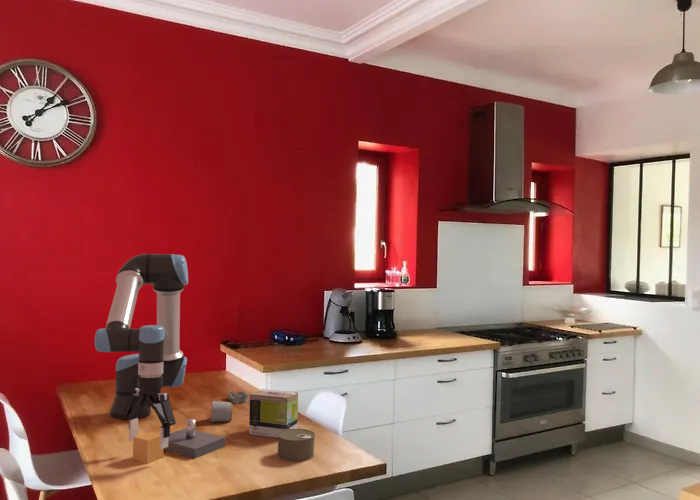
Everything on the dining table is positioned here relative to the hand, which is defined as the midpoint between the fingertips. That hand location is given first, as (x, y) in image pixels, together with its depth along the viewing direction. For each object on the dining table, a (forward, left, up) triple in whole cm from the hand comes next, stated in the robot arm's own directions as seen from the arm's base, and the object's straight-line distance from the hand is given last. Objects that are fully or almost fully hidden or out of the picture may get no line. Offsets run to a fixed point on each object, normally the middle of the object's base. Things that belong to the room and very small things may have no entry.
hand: (148, 443), depth 179 cm
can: (+36, +28, -5) cm, 46 cm away
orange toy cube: (0, 0, -5) cm, 5 cm away
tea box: (+17, +42, -5) cm, 46 cm away
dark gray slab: (+3, +15, -5) cm, 16 cm away
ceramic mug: (-10, +44, -5) cm, 45 cm away
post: (+3, +15, -2) cm, 16 cm away
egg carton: (-24, +71, -5) cm, 75 cm away
